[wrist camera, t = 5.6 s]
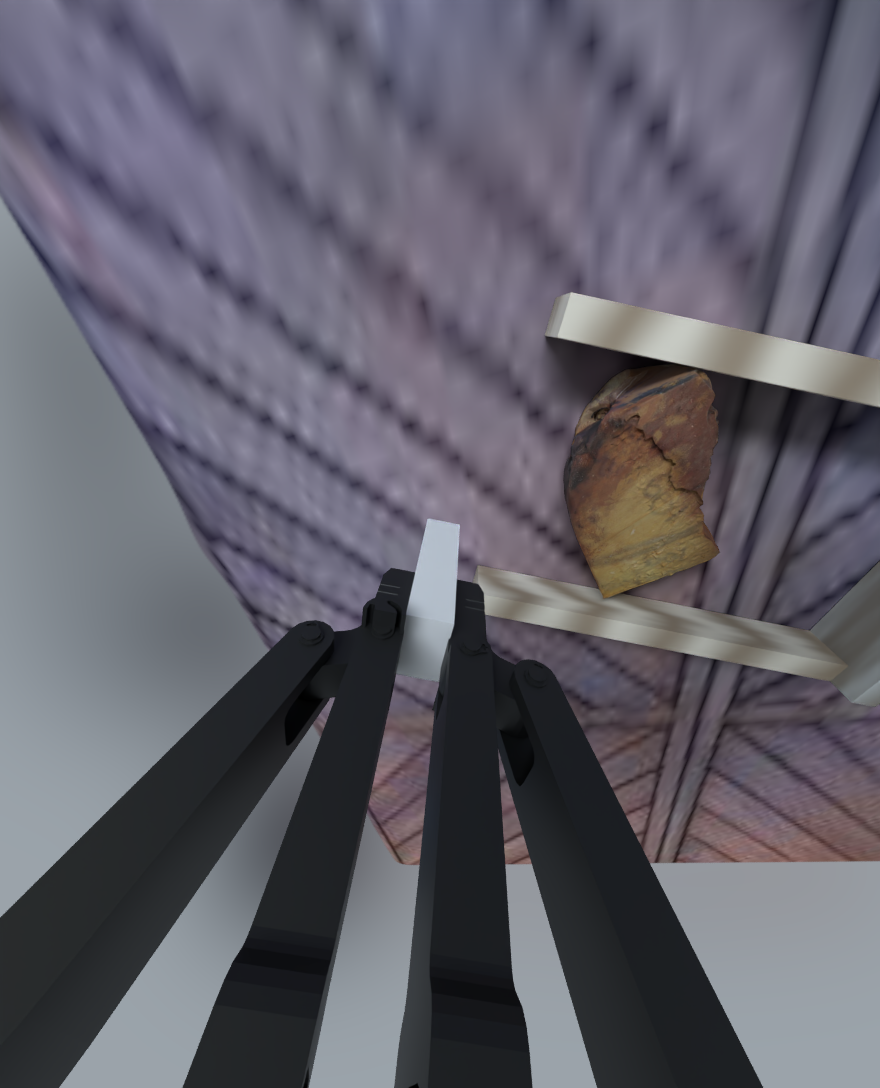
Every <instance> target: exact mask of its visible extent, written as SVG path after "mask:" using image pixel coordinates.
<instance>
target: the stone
mask: <svg viewBox="0 0 880 1088" xmlns="http://www.w3.org/2000/svg"><path fill="white" fill-rule="evenodd" d="M715 396H716V395H715V393H714V391H713V390H712V385H711V381H710V378H708V377H707V375H706V374H705V373H704V372H703V371H701V370H698V369H696V368H692V367H688V366H682V365H678V364H665V365H657V366H647V367H643V368H638V369H626V370H624V371H622V372H620V373H619V374H617V375H615V376H614V377H613V378H611V379H610V381H608V382H607V383H606V384H605V385H604V386H603V388H602V389H601V390H600V391H599V392H598V393H597V394H596V395H595V397H594V398H593V400H592V401H591V402H590V403H589V404H588V405H587V406H586V407H585V409H584V411H583V413H582V415H581V417H580V419H579V422H578V424H577V426H576V430H575V438H574V441H573V443H572V446H571V456H570V457H569V458H568V460H567V462H566V465H565V470H564V494H565V499H566V503H567V508H568V512H569V516H570V520H571V523H572V526H573V529H574V532H575V535H576V538H577V540H578V542H579V544H580V547H581V549H582V551H583V554H584V556H585V558H586V560H587V563H588V565H589V567H590V569H591V572H592V574H593V576H594V578H595V580H596V582H597V585H598V587H599V590H600V592H601V594H602V596H603V599H605V598H608V597H611V596H614V595H616V594H619V593H622V592H624V591H627V590H630V589H633V588H636V587H638V586H641V585H644V584H647V583H650V582H653V581H655V580H657V579H660V578H662V577H665V576H671V575H673V574H674V573H676V572H678V571H682V570H685V569H688V568H690V567H693V566H695V565H698V564H700V563H703V562H706V561H708V560H710V559H712V558H714V557H715V556H716V555H717V554H718V553H719V549H718V546H717V545H716V544H715V541H714V539H713V536H712V535H711V533H710V531H709V529H708V528H707V526H706V525H705V523H704V522H703V521H704V519H703V517H704V515H703V513H702V511H701V510H700V508H699V507H700V506H701V505H703V500H702V496H703V491H704V487H705V483H706V481H707V480H708V479H709V474H710V466H711V456H712V455H713V449H714V447H715V446H716V444H717V443H718V441H717V440H718V424H719V421H718V420H717V422H716V418H717V416H718V411H717V410H716V409H715V408H714V407H713V406H712V405H711V404H712V402H713V400H714V398H715Z"/></svg>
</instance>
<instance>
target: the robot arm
mask: <svg viewBox="0 0 880 1088" xmlns="http://www.w3.org/2000/svg"><path fill="white" fill-rule="evenodd" d="M459 530H460V525H459V524H454V523H449V522H444V521H438V520H433V519H428V520H427V525H426V529H425V533H424V538H423V542H422V546H421V551H420V555H419V559H418V564H417V568H416V572H410V571H405V570H400V569H394V568H391V569H390V570H388V571H387V572H386V573H385V574H384V575H383V578H382V581H381V584H380V586H379V589H378V592H377V594H376V597H375V598H374V599H372V600H370V601H368V602H367V603H366V604H365V606H364V607H363V615H362V625H361V626H359V627H358V628H355V629H352V630H347V631H336V632H334V631H333V629H332V628H331V626H329V625H328V624H326V623H324V622H321V621H316V620H315V621H306V622H303V623H300V624H298V625H296V626H295V627H293V628H292V629H291V630H290V631H289V632H288V633H287V634H286V635H285V636H284V637H283V638H282V639H281V640H280V641H279V642H278V643H277V644H276V645H275V646H274V647H273V648H272V649H271V650H270V651H269V652H268V653H267V654H266V655H265V656H264V657H263V658H262V659H261V660H260V661H259V662H258V663H257V664H256V665H255V666H254V667H253V668H252V669H251V670H250V671H249V672H248V673H247V674H246V675H245V676H244V677H243V678H242V679H241V680H240V681H238V683H236V684H235V685H234V686H233V688H232V689H230V691H228V693H226V694H225V695H224V696H223V697H222V698H221V699H220V700H219V701H218V702H217V703H216V704H215V705H214V706H213V707H212V708H211V709H210V710H209V711H208V712H207V713H206V714H205V715H204V716H203V717H202V718H201V719H200V720H199V721H198V722H197V723H196V724H195V725H194V726H193V727H192V728H191V729H190V730H189V731H188V732H187V733H186V734H185V735H184V736H183V737H182V738H181V739H180V740H179V741H178V742H177V743H176V744H175V745H174V746H173V747H172V748H171V749H170V750H169V751H168V752H167V753H166V754H165V755H164V756H163V757H162V758H161V759H160V760H159V761H158V762H157V763H156V764H155V765H154V766H153V767H152V768H151V769H150V770H149V771H148V772H147V773H146V774H145V775H144V776H143V777H142V778H141V779H140V780H139V781H138V782H137V783H136V784H135V785H134V786H133V787H132V788H131V789H130V790H129V791H128V792H127V793H126V794H125V795H124V796H122V798H120V800H118V801H117V802H116V803H115V804H114V805H113V806H112V807H111V808H110V809H109V811H107V812H106V814H104V815H103V816H102V817H101V818H100V819H99V820H98V821H97V822H96V823H95V824H94V825H93V826H92V827H91V828H90V829H89V830H88V831H87V832H86V833H85V834H84V835H83V836H82V837H81V838H80V839H79V840H78V841H77V842H76V843H75V844H74V845H73V846H72V847H71V848H70V849H69V850H68V851H67V852H66V853H65V854H64V855H63V856H62V857H61V858H60V859H59V860H58V861H57V862H56V863H55V864H54V865H53V866H52V867H51V868H50V869H49V870H48V871H47V872H46V873H45V874H44V875H43V876H42V877H41V878H40V879H39V880H38V881H37V882H36V883H35V884H34V885H33V886H32V887H31V888H30V889H29V890H28V891H27V892H26V893H25V894H24V895H23V896H22V897H21V898H20V899H19V900H18V901H17V902H16V903H15V904H14V905H13V906H12V907H11V908H10V909H9V910H8V911H7V912H6V913H5V914H4V915H3V916H1V917H0V1088H59V1087H60V1085H61V1084H62V1083H63V1081H64V1080H65V1079H66V1077H67V1076H68V1075H69V1073H70V1072H71V1071H72V1069H73V1068H74V1066H75V1065H76V1064H77V1062H78V1061H79V1060H80V1058H81V1057H82V1055H83V1054H84V1053H85V1051H86V1050H87V1049H88V1047H89V1046H90V1045H91V1043H92V1042H93V1040H94V1039H95V1037H96V1036H97V1035H98V1033H99V1032H100V1030H101V1029H102V1027H103V1026H104V1024H105V1023H106V1022H107V1020H108V1019H109V1017H110V1015H111V1014H112V1013H113V1011H114V1010H115V1009H116V1007H117V1006H118V1004H119V1003H120V1001H121V1000H122V998H123V997H124V996H125V994H126V993H127V991H128V990H129V988H130V987H131V985H132V984H133V983H134V981H135V980H136V978H137V977H138V975H139V974H140V972H141V971H142V970H143V968H144V967H145V965H146V964H147V962H148V961H149V959H150V958H151V957H152V955H153V953H154V952H155V951H156V949H157V948H158V946H159V945H160V944H161V942H162V941H163V939H164V938H165V936H166V935H167V933H168V932H169V931H170V929H171V928H172V926H173V925H174V923H175V922H176V920H177V919H178V918H179V916H180V914H181V913H182V912H183V910H184V909H185V907H186V906H187V905H188V903H189V902H190V900H191V899H192V897H193V896H194V894H195V893H196V891H197V890H198V889H199V887H200V886H201V884H202V883H203V881H204V880H205V879H206V877H207V876H208V874H209V873H210V871H211V870H212V868H213V867H214V865H215V864H216V863H217V861H218V860H219V858H220V857H221V855H222V854H223V853H224V851H225V850H226V848H227V847H228V845H229V844H230V842H231V841H232V839H233V838H234V837H235V835H236V834H237V832H238V831H239V829H240V828H241V827H242V825H243V824H244V822H245V821H246V819H247V818H248V816H249V815H250V813H251V812H252V810H253V809H254V808H255V806H256V805H257V803H258V802H259V800H260V799H261V798H262V796H263V795H264V793H265V792H266V790H267V789H268V787H269V786H270V785H271V783H272V782H273V780H274V779H275V777H276V776H277V775H278V773H279V772H280V770H281V769H282V767H283V766H284V764H285V763H286V762H287V760H288V759H289V757H290V756H291V754H292V752H293V751H294V750H295V749H296V747H297V746H298V744H299V743H300V741H301V740H302V738H303V737H304V736H305V734H306V733H307V731H308V730H309V728H310V727H311V725H312V724H313V723H314V721H315V720H316V718H317V717H318V715H319V714H320V712H321V711H322V710H323V708H324V707H325V705H326V704H327V702H328V701H329V699H330V698H332V697H336V698H335V700H334V703H333V706H332V708H331V711H330V714H329V717H328V719H327V722H326V725H325V727H324V730H323V733H322V736H321V738H320V741H319V744H318V747H317V749H316V752H315V755H314V757H313V760H312V763H311V766H310V768H309V771H308V774H307V776H306V779H305V782H304V785H303V788H302V790H301V793H300V796H299V798H298V801H297V804H296V806H295V809H294V812H293V815H292V817H291V820H290V823H289V825H288V828H287V831H286V834H285V836H284V839H283V842H282V845H281V847H280V850H279V853H278V855H277V858H276V861H275V864H274V866H273V869H272V872H271V874H270V877H269V880H268V883H267V885H266V888H265V891H264V894H263V896H262V899H261V902H260V904H259V907H258V910H257V913H256V915H255V918H254V921H253V924H252V926H251V929H250V931H249V934H248V936H247V938H246V941H245V943H244V945H243V947H242V948H241V950H240V952H239V953H238V955H237V956H236V958H235V959H234V961H233V963H232V965H231V967H230V969H229V971H228V973H227V975H226V977H225V979H224V982H223V984H222V987H221V989H220V992H219V994H218V997H217V999H216V1001H215V1004H214V1006H213V1009H212V1012H211V1015H210V1017H209V1020H208V1022H207V1025H206V1028H205V1030H204V1033H203V1035H202V1038H201V1041H200V1043H199V1046H198V1049H197V1051H196V1054H195V1057H194V1059H193V1062H192V1065H191V1067H190V1070H189V1072H188V1075H187V1078H186V1080H185V1083H184V1085H183V1088H308V1087H309V1082H310V1078H311V1073H312V1069H313V1064H314V1059H315V1055H316V1050H317V1045H318V1040H319V1035H320V1031H321V1026H322V1021H323V1016H324V1011H325V1006H326V1000H327V996H328V991H329V986H330V981H331V977H332V972H333V967H334V963H335V958H336V953H337V949H338V944H339V939H340V935H341V930H342V925H343V921H344V916H345V911H346V907H347V902H348V897H349V893H350V888H351V883H352V879H353V874H354V869H355V865H356V860H357V855H358V850H359V846H360V841H361V837H362V832H363V827H364V823H365V818H366V813H367V809H368V804H369V799H370V795H371V790H372V785H373V781H374V776H375V771H376V767H377V762H378V757H379V753H380V748H381V743H382V739H383V734H384V729H385V725H386V720H387V715H388V711H389V706H390V701H391V697H392V692H393V687H394V682H395V676H396V674H399V675H404V676H409V677H415V678H420V679H426V680H431V681H436V682H438V681H439V677H440V681H439V688H438V691H437V695H436V698H435V702H434V706H433V709H432V710H434V711H435V713H434V724H433V734H432V744H431V754H430V764H429V775H428V785H427V795H426V805H425V815H424V826H423V836H422V846H421V856H420V867H419V878H418V888H417V897H416V907H415V918H414V928H413V938H412V949H411V959H410V970H409V979H408V989H407V998H406V1006H405V1012H404V1017H403V1023H402V1028H401V1035H400V1042H399V1049H398V1058H397V1067H396V1076H395V1086H394V1088H532V1077H531V1064H530V1052H529V1044H528V1035H527V1027H526V1022H525V1018H524V1013H523V1008H522V1005H521V1003H520V1001H519V998H518V996H517V993H516V991H515V987H514V982H513V975H512V965H511V949H510V932H509V917H508V901H507V886H506V869H505V853H504V837H503V822H502V806H501V790H500V774H499V758H498V749H499V753H500V756H501V760H502V763H503V766H504V770H505V773H506V777H507V780H508V784H509V787H510V790H511V794H512V797H513V801H514V804H515V808H516V811H517V814H518V818H519V821H520V825H521V828H522V832H523V835H524V838H525V842H526V845H527V849H528V852H529V856H530V859H531V862H532V866H533V869H534V872H535V876H536V879H537V883H538V886H539V890H540V893H541V897H542V900H543V903H544V907H545V910H546V914H547V917H548V921H549V924H550V928H551V931H552V934H553V938H554V941H555V945H556V948H557V951H558V955H559V958H560V961H561V965H562V968H563V972H564V976H565V979H566V982H567V986H568V989H569V993H570V996H571V999H572V1003H573V1006H574V1010H575V1013H576V1016H577V1020H578V1024H579V1027H580V1030H581V1034H582V1037H583V1041H584V1044H585V1048H586V1051H587V1054H588V1058H589V1061H590V1065H591V1068H592V1071H593V1075H594V1078H595V1082H596V1085H597V1088H763V1086H762V1085H761V1082H760V1081H759V1079H758V1077H757V1074H756V1073H755V1071H754V1069H753V1067H752V1065H751V1063H750V1061H749V1059H748V1057H747V1055H746V1053H745V1051H744V1049H743V1047H742V1045H741V1043H740V1041H739V1039H738V1037H737V1035H736V1033H735V1031H734V1029H733V1027H732V1025H731V1023H730V1021H729V1019H728V1017H727V1015H726V1013H725V1011H724V1009H723V1007H722V1005H721V1003H720V1001H719V1000H718V997H717V995H716V993H715V991H714V989H713V987H712V985H711V983H710V981H709V980H708V978H707V976H706V974H705V972H704V970H703V968H702V966H701V964H700V962H699V960H698V958H697V956H696V954H695V952H694V950H693V948H692V946H691V944H690V942H689V940H688V938H687V936H686V934H685V932H684V930H683V928H682V926H681V924H680V922H679V920H678V918H677V916H676V914H675V912H674V910H673V908H672V906H671V905H670V902H669V900H668V899H667V896H666V894H665V893H664V891H663V889H662V887H661V885H660V883H659V881H658V879H657V877H656V875H655V873H654V871H653V869H652V867H651V865H650V863H649V861H648V859H647V857H646V855H645V853H644V851H643V849H642V847H641V845H640V843H639V841H638V839H637V837H636V835H635V833H634V831H633V829H632V827H631V825H630V823H629V821H628V819H627V817H626V815H625V813H624V811H623V809H622V807H621V805H620V803H619V802H618V800H617V798H616V796H615V794H614V792H613V790H612V788H611V786H610V784H609V782H608V780H607V778H606V776H605V774H604V772H603V770H602V768H601V766H600V764H599V762H598V760H597V758H596V756H595V754H594V752H593V750H592V748H591V746H590V744H589V742H588V740H587V738H586V736H585V734H584V732H583V730H582V728H581V726H580V724H579V722H578V720H577V718H576V716H575V714H574V713H573V711H572V709H571V707H570V705H569V703H568V701H567V699H566V697H565V695H564V693H563V691H562V689H561V687H560V685H559V683H558V681H557V679H556V677H555V675H554V674H553V673H552V671H551V670H550V669H549V668H548V667H546V666H545V665H544V664H542V663H540V662H537V661H534V660H522V661H520V662H519V663H518V664H516V665H514V664H512V663H510V662H508V661H506V660H504V659H502V658H500V657H499V656H497V655H496V654H495V653H494V652H493V651H492V650H491V647H490V645H489V643H488V642H487V639H486V623H485V604H484V592H483V591H482V589H481V587H480V586H479V584H476V583H471V582H466V581H461V580H457V566H458V548H459Z"/></svg>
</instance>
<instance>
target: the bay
mask: <svg viewBox="0 0 880 1088" xmlns="http://www.w3.org/2000/svg"><path fill="white" fill-rule="evenodd" d="M545 336H548V337H553V338H558V339H562V340H567V341H572V342H576V343H581V344H586V345H590V346H595V347H600V348H604V349H609V350H613V351H618V352H623V353H627V354H632V355H637V356H641V357H646V358H651V359H655V360H660V361H665V362H669V363H674V364H678V365H683V366H688V367H692V368H697V369H702V370H706V371H711V372H716V373H720V374H725V375H729V376H734V377H739V378H743V379H748V380H753V381H757V382H762V383H767V384H771V385H776V386H781V387H785V388H790V389H794V390H799V391H804V392H808V393H813V394H818V395H822V396H827V397H832V398H836V399H841V400H846V401H850V402H855V403H859V404H864V405H869V406H873V407H878V408H880V360H877V359H873V358H868V357H864V356H859V355H855V354H850V353H846V352H841V351H836V350H832V349H827V348H823V347H818V346H814V345H809V344H804V343H800V342H795V341H791V340H786V339H782V338H777V337H772V336H768V335H763V334H759V333H754V332H750V331H745V330H741V329H736V328H731V327H727V326H722V325H718V324H713V323H709V322H704V321H699V320H695V319H690V318H686V317H681V316H677V315H672V314H668V313H663V312H658V311H654V310H649V309H645V308H640V307H636V306H631V305H626V304H622V303H617V302H613V301H608V300H604V299H599V298H594V297H590V296H585V295H581V294H576V293H572V292H571V293H568V294H565V295H562V296H560V297H557V298H556V299H555V302H554V306H553V309H552V312H551V316H550V319H549V323H548V326H547V330H546V333H545ZM473 583H476V584H479V586H480V587H481V589H482V591H483V592H484V604H485V615H490V616H495V617H501V618H506V619H511V620H516V621H521V622H526V623H532V624H537V625H542V626H547V627H552V628H557V629H563V630H568V631H573V632H578V633H583V634H588V635H593V636H599V637H604V638H609V639H614V640H619V641H624V642H630V643H635V644H640V645H645V646H650V647H655V648H661V649H666V650H671V651H676V652H681V653H686V654H691V655H697V656H702V657H707V658H712V659H717V660H722V661H728V662H733V663H738V664H743V665H748V666H753V667H759V668H764V669H769V670H774V671H779V672H784V673H789V674H795V675H800V676H805V677H810V678H815V679H820V680H826V681H830V682H831V683H832V684H833V685H834V686H835V687H836V688H837V689H838V690H839V691H840V692H841V693H842V694H843V695H844V696H845V697H846V698H847V699H848V700H849V701H850V702H852V703H857V704H862V705H867V706H872V707H876V706H877V705H879V704H880V561H879V562H878V563H877V564H876V565H875V566H874V567H873V568H872V569H871V570H870V571H869V572H868V573H867V574H866V575H865V576H864V577H863V578H862V579H861V580H860V581H859V582H858V583H857V584H856V585H855V586H854V587H853V588H852V589H851V590H850V591H849V592H848V593H847V594H846V595H845V596H844V597H843V598H842V599H841V600H840V601H839V602H838V603H837V604H836V605H835V606H834V607H833V608H832V609H831V610H830V611H829V612H828V613H827V614H826V615H825V616H824V617H823V618H822V619H821V620H820V621H819V622H818V623H817V624H816V625H815V626H814V627H813V628H812V629H811V630H810V631H809V630H804V629H798V628H793V627H788V626H783V625H778V624H773V623H768V622H763V621H758V620H753V619H748V618H743V617H738V616H733V615H728V614H723V613H717V612H712V611H707V610H702V609H697V608H692V607H687V606H682V605H677V604H672V603H667V602H662V601H657V600H652V599H647V598H641V597H636V596H631V595H626V594H621V593H619V594H616V595H614V596H611V597H608V598H605V599H603V596H602V594H601V592H600V590H599V589H596V588H591V587H586V586H581V585H576V584H571V583H566V582H560V581H555V580H550V579H545V578H540V577H535V576H530V575H525V574H520V573H515V572H510V571H505V570H500V569H495V568H490V567H484V566H479V565H478V566H477V570H476V573H475V577H474V580H473Z"/></svg>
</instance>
